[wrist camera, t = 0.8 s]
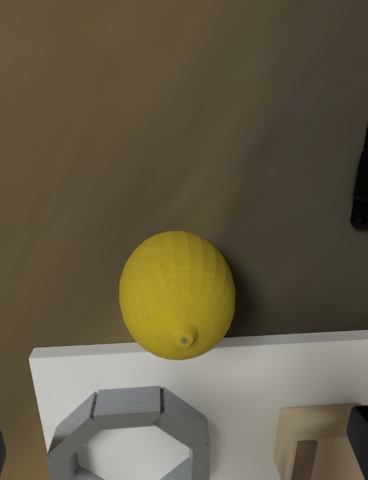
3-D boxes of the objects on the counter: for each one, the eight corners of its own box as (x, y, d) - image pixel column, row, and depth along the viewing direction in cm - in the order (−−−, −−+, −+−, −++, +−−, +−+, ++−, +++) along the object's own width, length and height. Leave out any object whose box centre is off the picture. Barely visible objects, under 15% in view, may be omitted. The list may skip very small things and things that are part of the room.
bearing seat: (207, 382, 22) (212, 407, 20) (204, 487, 25) (208, 516, 23) (48, 393, 21) (38, 419, 19) (68, 499, 24) (61, 530, 23)
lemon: (234, 266, 20) (281, 352, 13) (161, 312, 21) (165, 420, 13) (185, 194, 18) (206, 244, 11) (107, 248, 19) (76, 329, 11)
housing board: (379, 329, 23) (388, 338, 22) (341, 484, 28) (347, 496, 27) (34, 347, 21) (28, 358, 20) (65, 509, 26) (62, 524, 25)
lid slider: (360, 402, 23) (386, 438, 21) (348, 452, 25) (371, 490, 23) (280, 408, 23) (296, 445, 20) (273, 458, 25) (287, 498, 22)
